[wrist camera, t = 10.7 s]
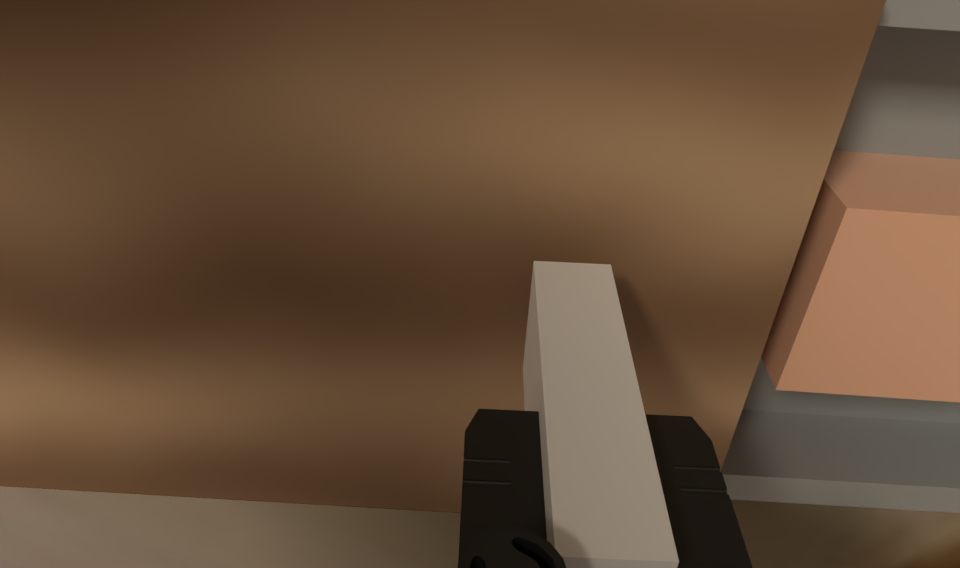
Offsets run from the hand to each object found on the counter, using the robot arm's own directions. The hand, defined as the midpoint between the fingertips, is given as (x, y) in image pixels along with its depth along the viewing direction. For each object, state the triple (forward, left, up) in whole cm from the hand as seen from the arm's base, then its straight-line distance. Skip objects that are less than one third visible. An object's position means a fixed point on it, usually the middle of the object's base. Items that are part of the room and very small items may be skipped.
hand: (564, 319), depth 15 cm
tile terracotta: (0, +8, -5) cm, 9 cm away
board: (0, -6, -5) cm, 8 cm away
